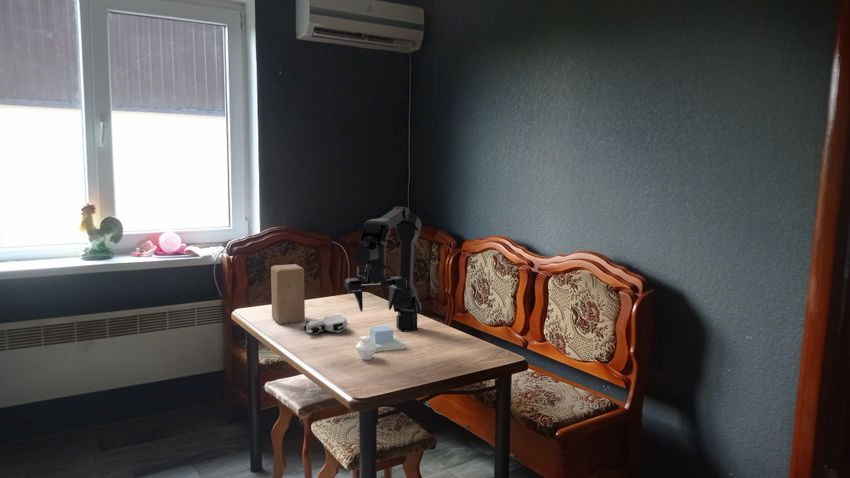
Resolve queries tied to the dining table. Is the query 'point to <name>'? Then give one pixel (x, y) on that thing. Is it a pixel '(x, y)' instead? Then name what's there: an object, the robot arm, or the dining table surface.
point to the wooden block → (287, 293)
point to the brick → (381, 334)
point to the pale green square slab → (390, 344)
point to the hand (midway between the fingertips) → (375, 310)
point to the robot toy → (326, 324)
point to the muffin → (366, 348)
